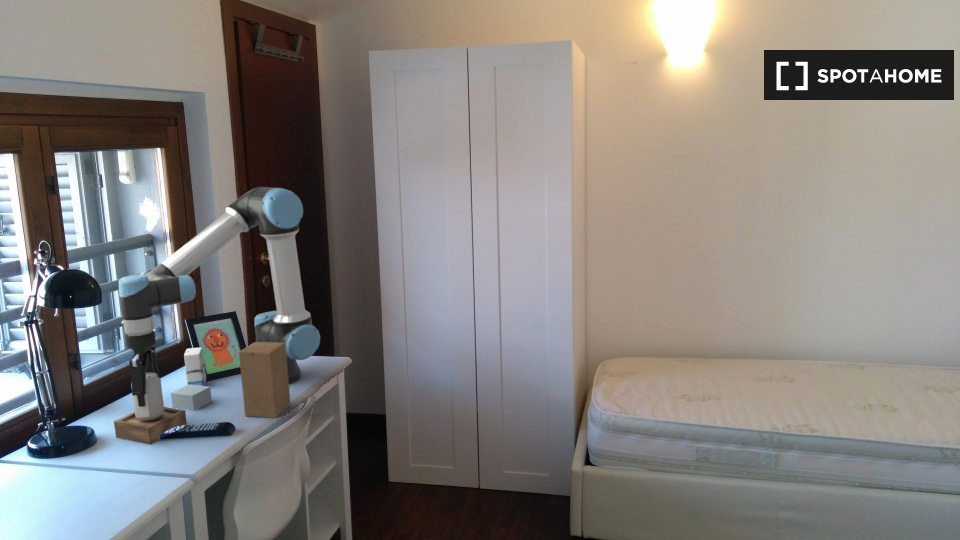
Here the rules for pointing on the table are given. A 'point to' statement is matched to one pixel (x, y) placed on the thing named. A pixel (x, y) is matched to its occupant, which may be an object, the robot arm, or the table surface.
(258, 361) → the wooden block
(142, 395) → the robot arm
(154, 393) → the can
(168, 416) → the walnut base block
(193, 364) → the ink box
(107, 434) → the table surface
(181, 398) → the slate painted block
